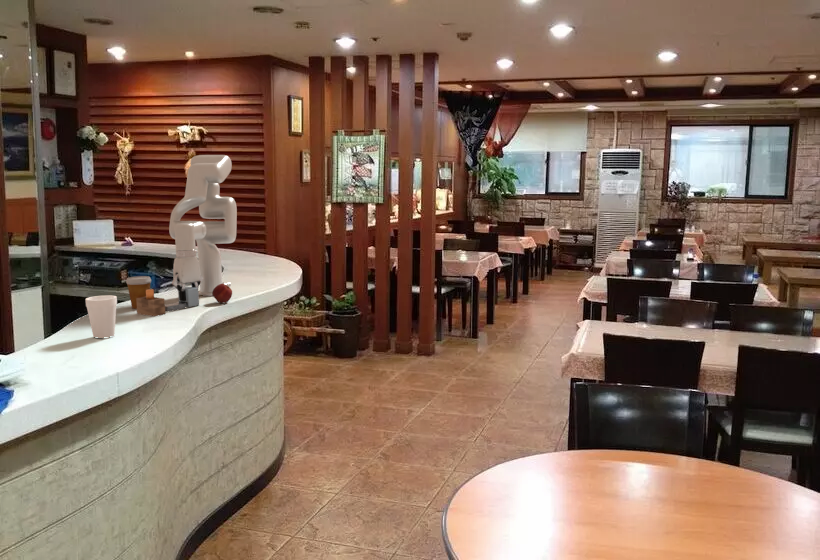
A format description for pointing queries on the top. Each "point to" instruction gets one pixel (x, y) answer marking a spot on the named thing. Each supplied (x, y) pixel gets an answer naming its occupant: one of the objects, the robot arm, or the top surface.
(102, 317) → the foam cup
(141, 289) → the disposable coffee cup
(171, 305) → the rail
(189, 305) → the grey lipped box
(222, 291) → the apple
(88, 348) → the top surface
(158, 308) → the tan slotted block
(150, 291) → the peg
